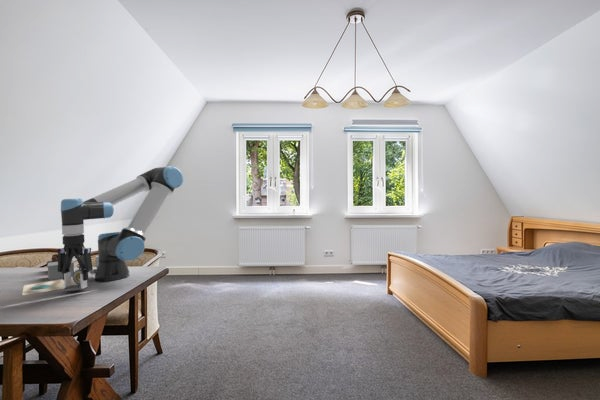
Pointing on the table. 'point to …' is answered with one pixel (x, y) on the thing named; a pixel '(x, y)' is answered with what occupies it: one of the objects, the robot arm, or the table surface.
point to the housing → (54, 272)
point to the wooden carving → (53, 259)
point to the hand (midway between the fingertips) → (76, 287)
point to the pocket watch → (76, 279)
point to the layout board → (45, 287)
